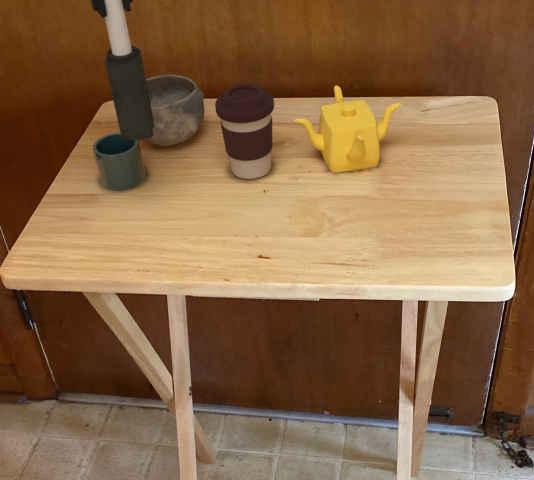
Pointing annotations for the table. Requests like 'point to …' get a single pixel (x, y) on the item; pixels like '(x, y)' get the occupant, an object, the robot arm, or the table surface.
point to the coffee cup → (247, 129)
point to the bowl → (174, 108)
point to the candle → (127, 77)
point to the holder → (119, 162)
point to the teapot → (348, 134)
